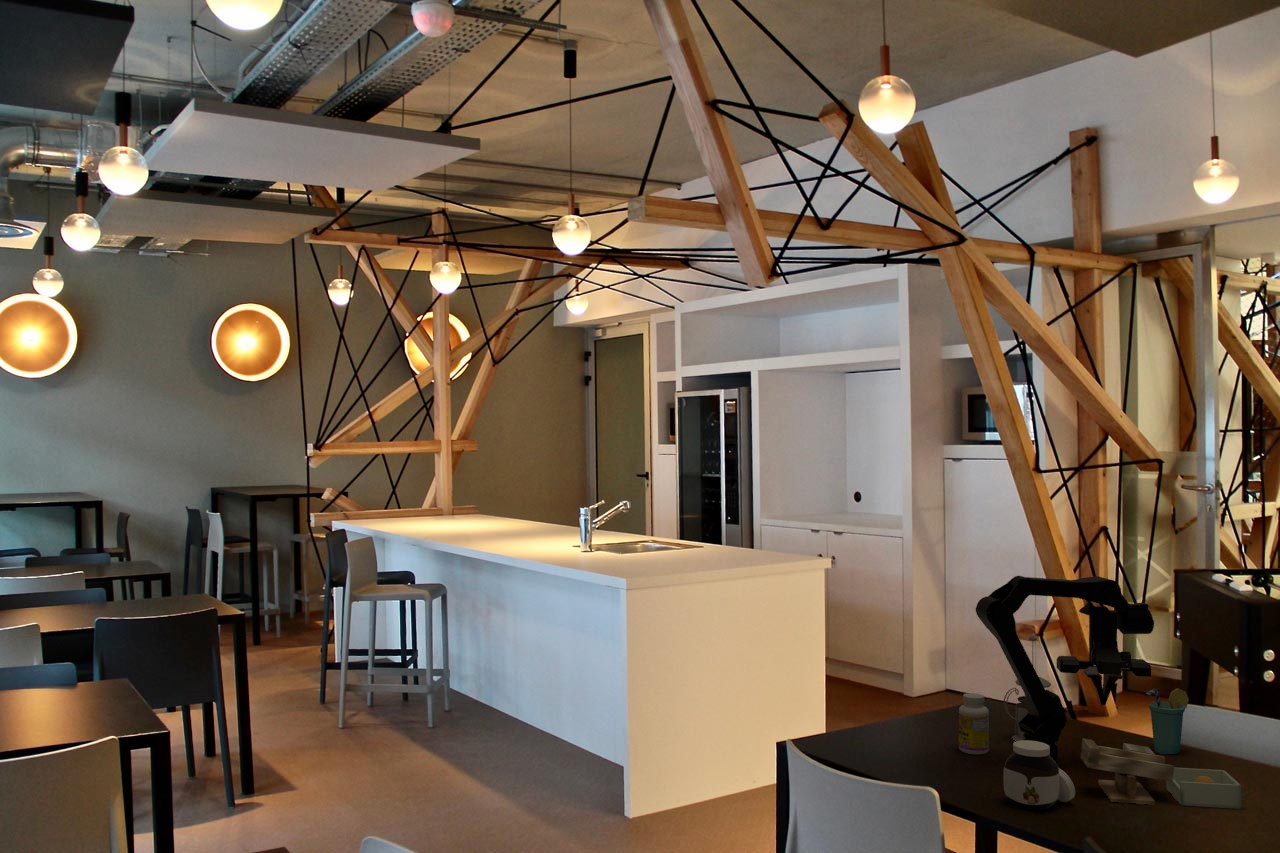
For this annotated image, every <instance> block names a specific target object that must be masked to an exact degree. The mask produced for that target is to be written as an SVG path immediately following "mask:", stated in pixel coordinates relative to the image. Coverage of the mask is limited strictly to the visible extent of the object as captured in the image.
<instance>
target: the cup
mask: <svg viewBox="0 0 1280 853" xmlns="http://www.w3.org/2000/svg"><path fill="white" fill-rule="evenodd" d="M1151 695H1154V696H1155V701H1151V702H1150V703H1149V704H1148V708H1149V710H1150V717H1151V718H1150V720H1151V727H1152V728H1151V730H1152V738H1153V750H1154V751H1153V752H1156V753H1159V754H1162V755H1167V754H1178V753H1179V752H1180V750H1181V743H1182V730H1183V719H1184V713H1185V711H1186V709H1187V707H1188V704H1189V701H1190V698H1189V696H1188V694H1187V691H1186V690H1183V689H1181V688H1175V689H1173V690H1172V691H1170V694H1169V697H1168V699H1167V700H1168V701H1164V700H1161V699H1160V695H1159V692H1158V690H1157V689H1155V688H1152V689H1151V690H1149V691H1147V692H1145V693H1144V696H1145V697H1149V696H1151ZM1179 754H1180V753H1179ZM1179 754H1178V755H1179Z"/></svg>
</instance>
